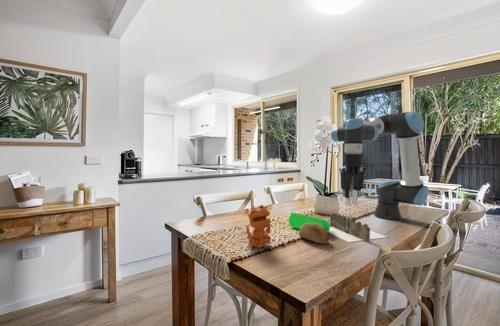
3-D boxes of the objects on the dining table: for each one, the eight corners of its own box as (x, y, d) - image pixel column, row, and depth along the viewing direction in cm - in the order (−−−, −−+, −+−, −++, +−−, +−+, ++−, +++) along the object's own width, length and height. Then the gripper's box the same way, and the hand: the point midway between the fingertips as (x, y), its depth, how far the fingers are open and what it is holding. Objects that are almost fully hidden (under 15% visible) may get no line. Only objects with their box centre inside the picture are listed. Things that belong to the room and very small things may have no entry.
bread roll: (320, 248, 108) (321, 229, 107) (293, 238, 119) (293, 221, 119) (333, 243, 114) (334, 225, 113) (306, 234, 125) (306, 218, 125)
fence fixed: (332, 225, 141) (332, 211, 140) (346, 232, 130) (347, 217, 129) (329, 225, 140) (329, 212, 140) (343, 232, 129) (344, 217, 129)
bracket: (329, 240, 128) (333, 226, 130) (320, 234, 122) (324, 219, 124) (296, 230, 142) (300, 218, 144) (286, 224, 136) (291, 212, 138)
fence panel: (348, 232, 126) (349, 218, 126) (350, 232, 127) (351, 218, 126) (367, 241, 115) (368, 225, 115) (369, 240, 116) (370, 225, 115)
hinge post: (347, 232, 129) (348, 216, 129) (350, 233, 127) (351, 217, 127) (344, 232, 129) (344, 216, 128) (347, 233, 127) (347, 217, 126)
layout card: (352, 224, 144) (352, 223, 144) (387, 237, 123) (387, 236, 122) (317, 227, 136) (317, 227, 136) (348, 242, 115) (348, 241, 115)
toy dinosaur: (253, 252, 101) (254, 207, 100) (241, 243, 111) (242, 202, 110) (277, 248, 106) (278, 205, 105) (263, 240, 116) (264, 200, 115)
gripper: (344, 153, 109) (342, 207, 110) (373, 153, 115) (371, 205, 116) (333, 153, 116) (331, 204, 117) (360, 153, 122) (359, 202, 123)
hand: (351, 204), depth 117 cm, fingers open, 3 cm apart
